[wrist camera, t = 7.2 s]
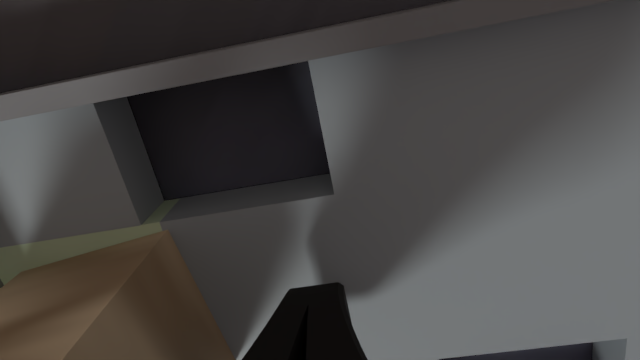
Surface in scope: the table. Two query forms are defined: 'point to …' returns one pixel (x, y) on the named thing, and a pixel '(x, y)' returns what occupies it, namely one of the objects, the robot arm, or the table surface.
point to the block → (110, 308)
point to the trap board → (380, 180)
